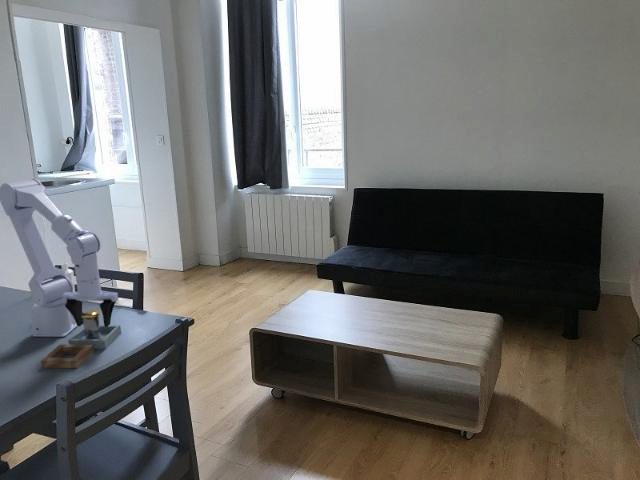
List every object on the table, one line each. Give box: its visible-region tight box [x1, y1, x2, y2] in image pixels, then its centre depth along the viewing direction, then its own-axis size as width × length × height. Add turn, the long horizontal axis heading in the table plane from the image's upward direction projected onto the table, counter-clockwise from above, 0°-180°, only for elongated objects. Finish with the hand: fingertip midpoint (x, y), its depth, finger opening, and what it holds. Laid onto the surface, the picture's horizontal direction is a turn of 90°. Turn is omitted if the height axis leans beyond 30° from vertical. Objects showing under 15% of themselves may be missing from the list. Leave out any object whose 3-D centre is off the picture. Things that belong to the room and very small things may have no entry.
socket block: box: [40, 343, 95, 369], centre depth 135 cm, size 9×9×2 cm
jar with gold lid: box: [81, 309, 101, 339], centre depth 144 cm, size 5×5×8 cm
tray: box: [67, 324, 122, 350], centre depth 146 cm, size 10×10×2 cm
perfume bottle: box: [60, 262, 76, 292], centre depth 169 cm, size 5×4×15 cm
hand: (94, 325), depth 145 cm, fingers open, 7 cm apart
